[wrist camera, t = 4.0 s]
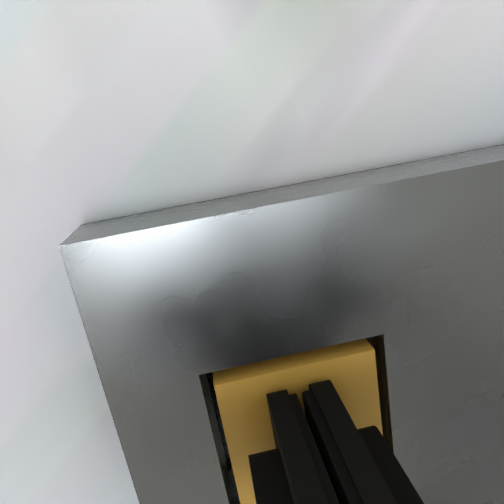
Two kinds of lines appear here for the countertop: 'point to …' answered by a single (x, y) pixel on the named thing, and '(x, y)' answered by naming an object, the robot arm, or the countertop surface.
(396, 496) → the robot arm
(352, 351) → the amber switch
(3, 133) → the countertop surface
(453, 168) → the switch panel
